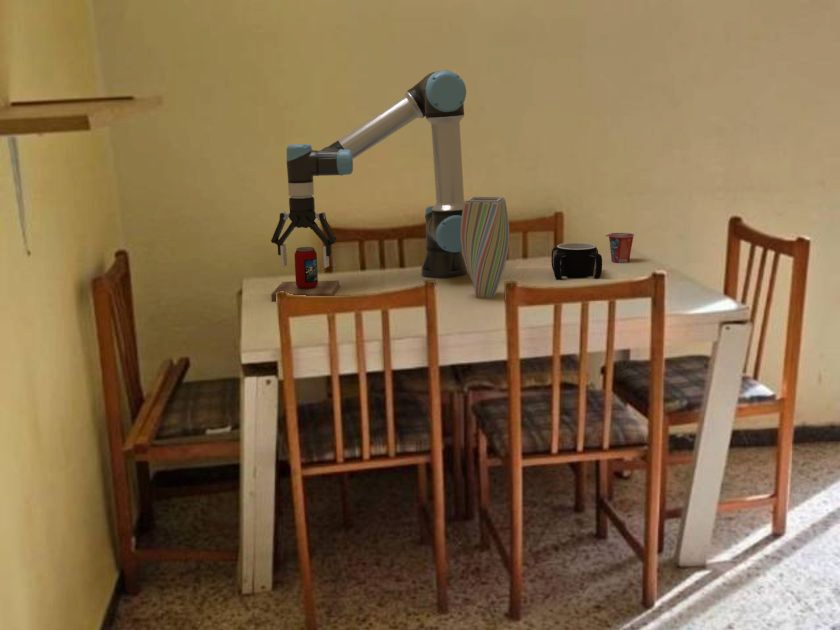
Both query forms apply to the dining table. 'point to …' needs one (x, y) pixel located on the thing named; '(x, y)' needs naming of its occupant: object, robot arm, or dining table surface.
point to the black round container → (576, 261)
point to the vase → (485, 242)
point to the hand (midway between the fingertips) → (305, 266)
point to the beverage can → (306, 267)
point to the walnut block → (320, 290)
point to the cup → (620, 246)
